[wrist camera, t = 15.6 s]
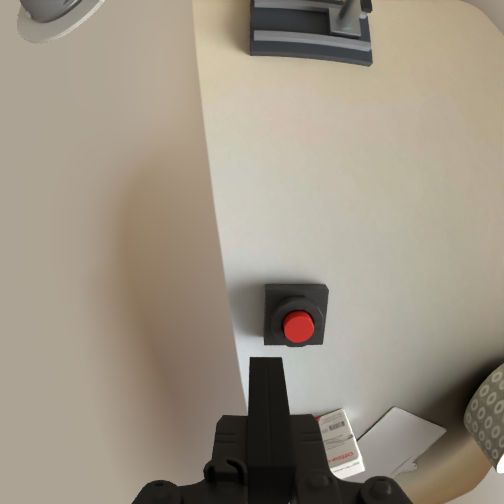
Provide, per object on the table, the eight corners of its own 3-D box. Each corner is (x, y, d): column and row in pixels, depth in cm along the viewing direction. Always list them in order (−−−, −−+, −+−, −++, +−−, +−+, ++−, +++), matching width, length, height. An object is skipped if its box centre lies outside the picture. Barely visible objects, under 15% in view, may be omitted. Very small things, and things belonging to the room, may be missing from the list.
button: (283, 310, 38) (285, 316, 36) (312, 310, 38) (315, 316, 36) (282, 336, 39) (283, 342, 37) (310, 335, 39) (312, 342, 37)
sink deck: (251, -2, 32) (250, -12, 29) (363, 10, 32) (368, 1, 29) (249, 55, 34) (249, 47, 31) (369, 66, 34) (376, 60, 31)
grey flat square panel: (378, 495, 53) (379, 498, 52) (306, 479, 51) (307, 483, 50) (454, 431, 48) (456, 434, 47) (393, 404, 46) (395, 407, 45)
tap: (324, -3, 30) (341, -45, 20) (352, 1, 30) (375, -38, 20) (327, 43, 32) (349, 5, 22) (357, 47, 32) (386, 13, 22)
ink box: (305, 440, 47) (313, 490, 36) (296, 424, 46) (304, 476, 35) (350, 423, 47) (367, 471, 35) (343, 406, 46) (361, 456, 34)
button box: (265, 283, 41) (266, 294, 37) (325, 284, 41) (332, 294, 37) (263, 337, 43) (264, 352, 39) (319, 337, 43) (325, 351, 39)
